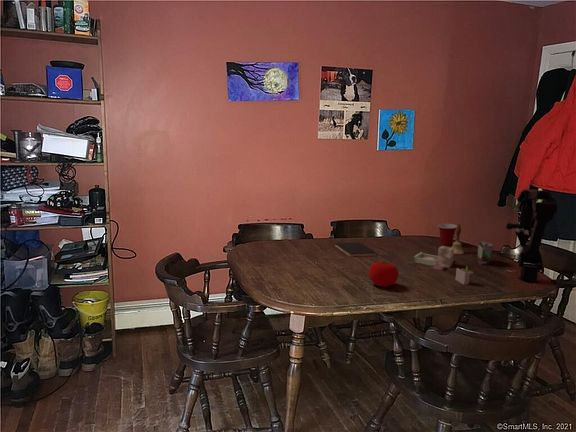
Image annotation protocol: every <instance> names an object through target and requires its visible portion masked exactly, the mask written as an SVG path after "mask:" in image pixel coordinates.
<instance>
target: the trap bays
mask: <svg viewBox="0 0 576 432" xmlns="http://www.w3.org/2000/svg"><path fill="white" fill-rule="evenodd" d="M454 261H455V258H454V257H453V262H454ZM431 269H434V270H440V271H444V270H445V269H446V267H445V265H443V266H438V265H437V263H435V264H433V265H431Z"/></svg>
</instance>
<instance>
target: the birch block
mask: <svg viewBox="0 0 576 432" xmlns="http://www.w3.org/2000/svg"><path fill="white" fill-rule="evenodd" d="M454 255H455V254H454V248H452V246H445V245H441V246H440V247H438V252H437V256H438V259H437V258H431V257H426V256H425V257H423V258H424V259H429V260H435V261H436V263H437V266H443V265H445V268H451V267H452V266H453V263H454V261H453V258H454Z"/></svg>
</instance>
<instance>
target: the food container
mask: <svg viewBox="0 0 576 432" xmlns="http://www.w3.org/2000/svg"><path fill="white" fill-rule="evenodd" d="M477 246H478V247H477V256H476V260H478V261H477V263H479V265H480V266H485V265H486V264H488V265H490V261H491V255H492V253H493V250H494V245H493V244H492V243H490V242H487V241H483V240H482V241H481V240H479V241H478V245H477ZM486 266H487V265H486Z"/></svg>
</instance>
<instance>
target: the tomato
mask: <svg viewBox="0 0 576 432" xmlns="http://www.w3.org/2000/svg"><path fill="white" fill-rule="evenodd" d="M368 276H369V277H368V278H369V279H370V281H371V282H372V284H373V285H376V286H378V287H382V288H384V287H385V288H387V287H390V286H393V285H394V284H396V283H397V281H398V278H399V270H398V267H397V266H396V265H395V264H394V263H391V262H388V261H386V260H384V261H381V260H380V261H375V262H374V263H373V264H372V265H371V266H370V267H369V271H368Z"/></svg>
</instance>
